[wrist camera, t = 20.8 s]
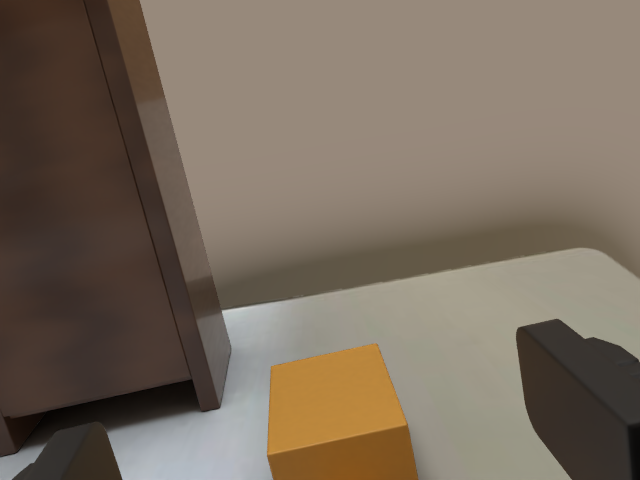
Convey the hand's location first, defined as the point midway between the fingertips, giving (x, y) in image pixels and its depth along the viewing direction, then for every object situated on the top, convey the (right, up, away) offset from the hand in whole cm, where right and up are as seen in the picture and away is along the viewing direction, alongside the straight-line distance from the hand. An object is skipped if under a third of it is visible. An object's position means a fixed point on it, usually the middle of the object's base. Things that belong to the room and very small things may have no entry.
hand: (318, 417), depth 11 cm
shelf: (-13, -7, +30) cm, 33 cm away
